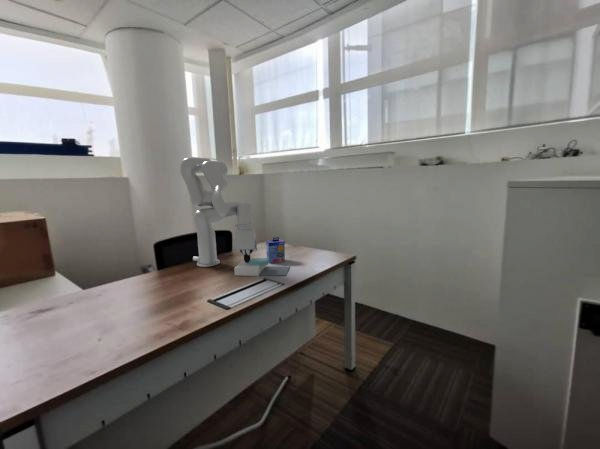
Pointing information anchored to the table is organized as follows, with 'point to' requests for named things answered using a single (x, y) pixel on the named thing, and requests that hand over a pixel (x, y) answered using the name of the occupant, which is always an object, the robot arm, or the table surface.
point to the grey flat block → (248, 269)
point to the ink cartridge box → (275, 250)
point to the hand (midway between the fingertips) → (247, 262)
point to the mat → (274, 271)
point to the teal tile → (259, 261)
